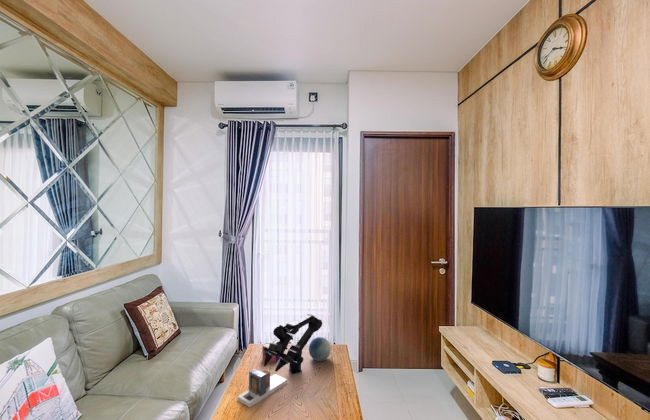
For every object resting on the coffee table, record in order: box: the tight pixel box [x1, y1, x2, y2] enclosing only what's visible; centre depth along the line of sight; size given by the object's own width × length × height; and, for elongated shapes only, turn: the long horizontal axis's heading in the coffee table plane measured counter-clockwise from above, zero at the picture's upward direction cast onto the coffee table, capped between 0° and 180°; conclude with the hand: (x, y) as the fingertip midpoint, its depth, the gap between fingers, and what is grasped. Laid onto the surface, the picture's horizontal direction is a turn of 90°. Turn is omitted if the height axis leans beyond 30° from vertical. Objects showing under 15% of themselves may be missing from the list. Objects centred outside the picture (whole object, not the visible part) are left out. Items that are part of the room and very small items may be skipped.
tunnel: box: [248, 368, 266, 396], centre depth 174 cm, size 4×9×10 cm, turn 54°
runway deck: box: [237, 373, 288, 408], centre depth 178 cm, size 28×10×2 cm, turn 144°
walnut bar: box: [252, 370, 271, 395], centre depth 176 cm, size 10×4×8 cm, turn 144°
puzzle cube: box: [261, 339, 280, 363], centre depth 215 cm, size 10×10×10 cm
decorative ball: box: [308, 336, 332, 362], centre depth 214 cm, size 15×15×15 cm
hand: (269, 368), depth 182 cm, fingers open, 9 cm apart
